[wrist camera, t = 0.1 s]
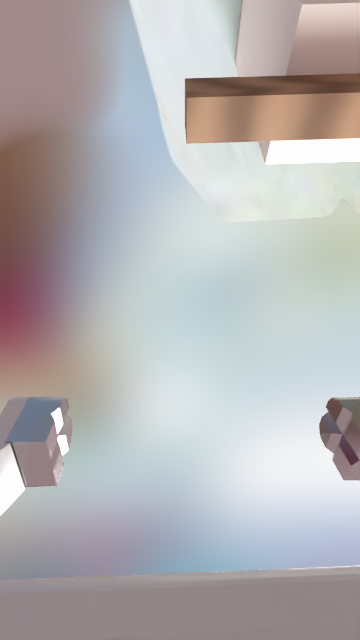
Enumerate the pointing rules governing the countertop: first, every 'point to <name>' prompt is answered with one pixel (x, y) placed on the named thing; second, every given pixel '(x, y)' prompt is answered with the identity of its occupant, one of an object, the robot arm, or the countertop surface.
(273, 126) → the walnut rail
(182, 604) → the robot arm
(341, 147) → the white box
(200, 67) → the countertop surface
